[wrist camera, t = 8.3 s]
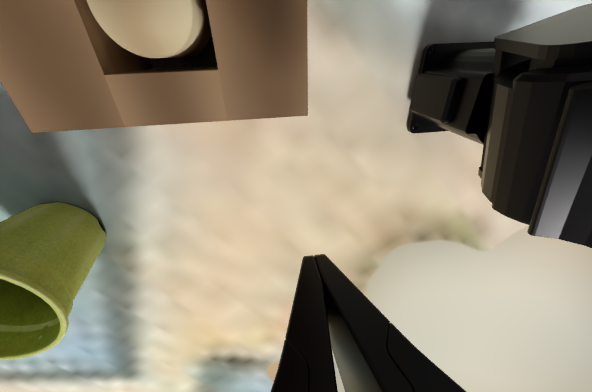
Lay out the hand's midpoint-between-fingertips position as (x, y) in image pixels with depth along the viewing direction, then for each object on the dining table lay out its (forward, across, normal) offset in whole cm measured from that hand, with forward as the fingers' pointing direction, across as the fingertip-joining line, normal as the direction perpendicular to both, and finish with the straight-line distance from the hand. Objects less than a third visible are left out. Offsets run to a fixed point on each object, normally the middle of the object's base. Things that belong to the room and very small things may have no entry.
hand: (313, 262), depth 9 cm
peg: (+12, +6, -9) cm, 16 cm away
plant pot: (+13, +20, +6) cm, 25 cm away
